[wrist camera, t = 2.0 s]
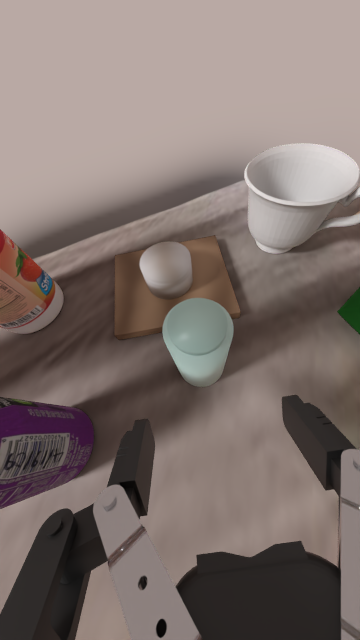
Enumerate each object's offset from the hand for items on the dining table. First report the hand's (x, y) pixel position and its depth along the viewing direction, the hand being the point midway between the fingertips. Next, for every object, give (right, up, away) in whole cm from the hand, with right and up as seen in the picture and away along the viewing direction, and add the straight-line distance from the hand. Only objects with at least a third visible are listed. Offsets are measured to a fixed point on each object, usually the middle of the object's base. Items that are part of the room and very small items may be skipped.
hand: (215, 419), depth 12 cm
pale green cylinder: (0, +1, +12) cm, 12 cm away
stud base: (-3, +11, +18) cm, 21 cm away
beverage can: (-14, -8, +10) cm, 19 cm away
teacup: (+14, +17, +19) cm, 30 cm away
